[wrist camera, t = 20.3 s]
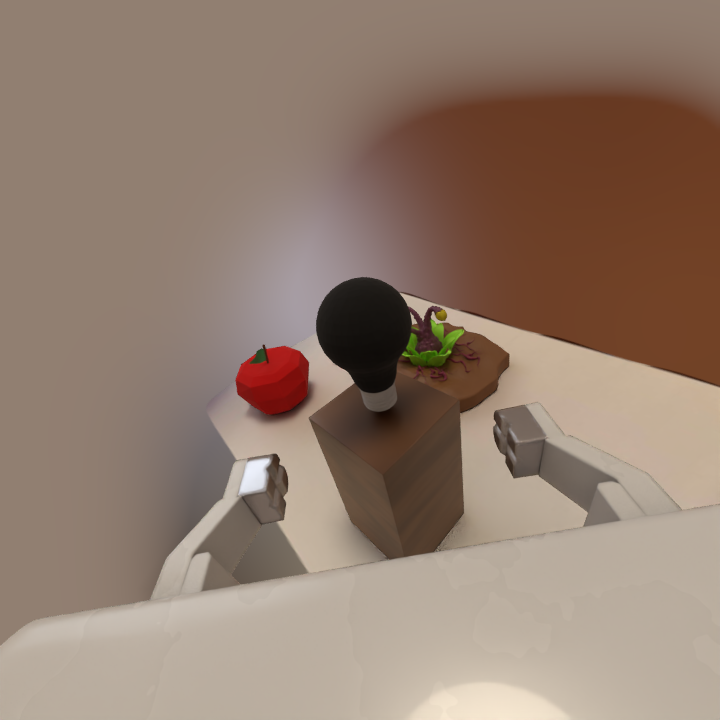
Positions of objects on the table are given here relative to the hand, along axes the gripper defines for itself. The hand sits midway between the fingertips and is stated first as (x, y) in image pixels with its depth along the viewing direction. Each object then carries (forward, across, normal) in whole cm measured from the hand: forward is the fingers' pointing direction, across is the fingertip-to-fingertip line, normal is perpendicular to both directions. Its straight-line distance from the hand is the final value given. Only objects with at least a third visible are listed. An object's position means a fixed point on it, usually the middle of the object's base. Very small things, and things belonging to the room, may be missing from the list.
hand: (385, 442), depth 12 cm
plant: (+32, -8, +23) cm, 40 cm away
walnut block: (+10, 0, +22) cm, 24 cm away
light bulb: (+10, 0, +8) cm, 12 cm away
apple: (+32, +16, +23) cm, 42 cm away
